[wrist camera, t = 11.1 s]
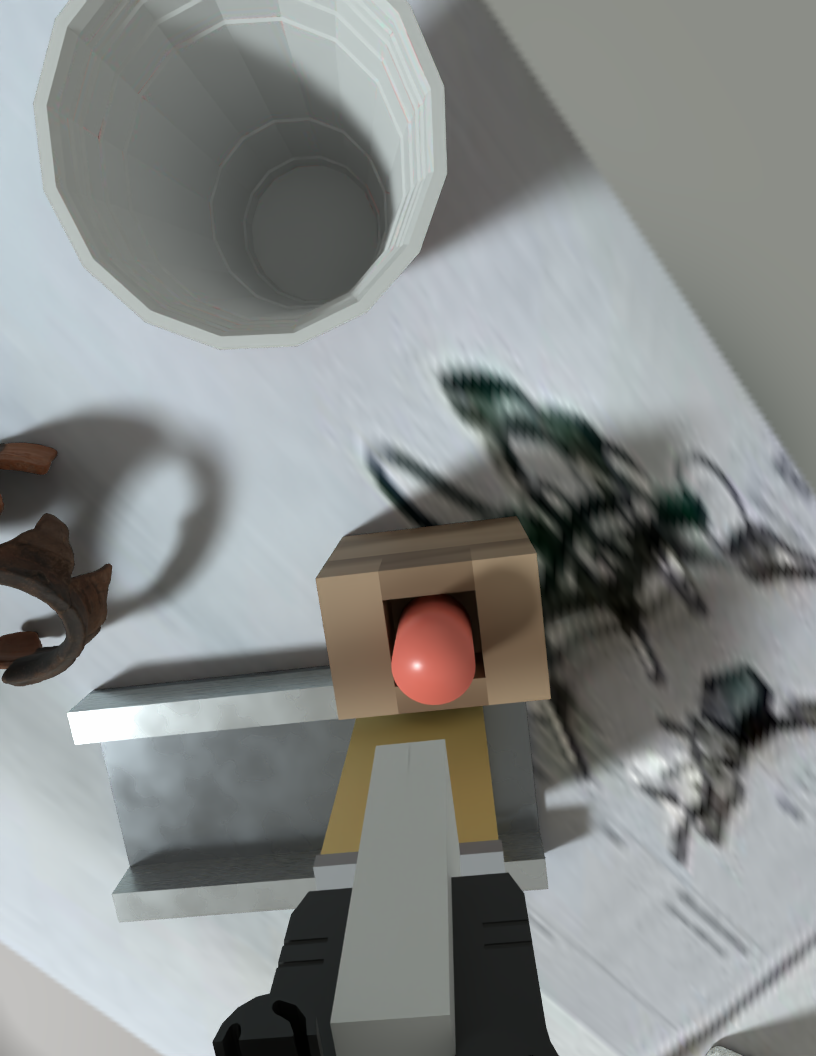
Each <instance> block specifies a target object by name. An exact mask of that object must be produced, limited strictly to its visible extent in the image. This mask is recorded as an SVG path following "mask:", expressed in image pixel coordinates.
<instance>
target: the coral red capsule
mask: <svg viewBox="0 0 816 1056" xmlns="http://www.w3.org/2000/svg"><path fill="white" fill-rule="evenodd" d="M475 667H476V666H475V655H474V645H473V636H472V627H471V621H470V617H469V614H468V612H467V610H466V609H465V608H464V606H463V605H462V604H461V603H460V602H459V601H458V600H456V599H455V598H453V597H451V596H449V595H446V594H435V595H426V596H418V597H416V598H415V599H413V600H412V601H410V602H409V603H408V604H407V605H406V607H405V608H404V609H403V611H402V613H401V616H400V619H399V624H398V629H397V634H396V640H395V645H394V650H393V656H392V662H391V668H392V674H393V677H394V680H395V682H396V684H397V686H398V687H399V688H400V690H401V691H402V692H403V693H404V694H405V695H407V696H408V697H409V698H411V699H412V700H415V701H417V702H419V703H422V704H427V705H440V704H445V703H449V702H451V701H453V700H455V699H457V698H459V697H460V696H461V695H462V694H464V692H465V691H466V690H467V689H468V688H469V686H470V685H471V683H472V681H473V678H474V674H475Z"/></svg>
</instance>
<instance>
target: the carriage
mask: <svg viewBox="0 0 816 1056" xmlns="http://www.w3.org/2000/svg"><path fill="white" fill-rule="evenodd" d="M440 739H445V744H446V751H447V759H448V766H449V774H450V781H451V789H452V796H453V804H454V811H455V819H456V826H457V834H458V841H459V849H460V870H461V876H472V875H484V874H496V873H505V865H504V856H503V848H502V840H499V839H498V831H497V822H496V814H495V806H494V797H493V789H492V780H491V772H490V764H489V755H488V747H487V738H486V730H485V722H484V713H483V706H475V707H465V708H455V709H445V710H435V711H424V712H414V713H404V714H394V715H384V716H374V717H364V718H356V721H355V724H354V728H353V732H352V736H351V740H350V744H349V747H348V751H347V755H346V759H345V763H344V766H343V770H342V774H341V778H340V782H339V786H338V789H337V793H336V797H335V801H334V805H333V808H332V812H331V816H330V820H329V824H328V828H327V831H326V835H325V839H324V843H323V847H322V850H321V854H320V855H316V858H315V862H314V865H313V870H314V876H315V881H316V887H317V891H319V890H331V889H342V888H353V882H354V876H355V870H356V864H357V858H358V852H359V846H360V840H361V834H362V828H363V821H364V815H365V809H366V803H367V797H368V791H369V785H370V779H371V773H372V767H373V761H374V755H375V749H376V746H380V745H390V744H400V743H410V742H420V741H430V740H440Z"/></svg>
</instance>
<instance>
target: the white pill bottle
mask: <svg viewBox="0 0 816 1056" xmlns="http://www.w3.org/2000/svg"><path fill="white" fill-rule="evenodd" d="M706 1056H742V1055H740V1054H738V1053H735V1052H733V1051H731V1050H729V1049H726V1048H724V1047H722V1046H716V1047H714V1048H712V1049H710V1051H709V1052H708V1054H707V1055H706Z"/></svg>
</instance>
